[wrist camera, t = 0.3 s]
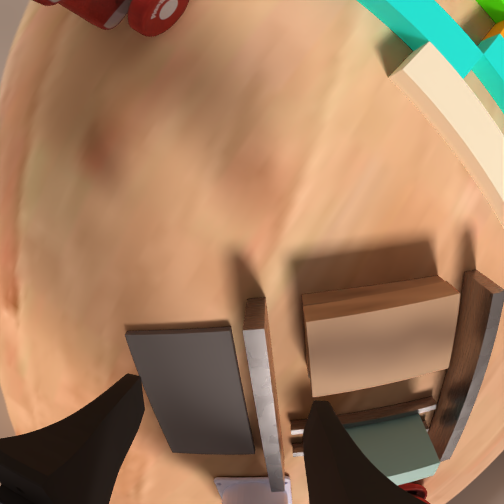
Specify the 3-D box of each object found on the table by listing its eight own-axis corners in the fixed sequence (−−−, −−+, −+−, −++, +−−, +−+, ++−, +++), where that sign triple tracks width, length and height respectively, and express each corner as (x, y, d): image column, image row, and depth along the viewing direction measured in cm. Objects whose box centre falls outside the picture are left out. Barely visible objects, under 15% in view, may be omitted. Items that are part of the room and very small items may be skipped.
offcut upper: (437, 352, 21) (448, 368, 19) (309, 378, 22) (312, 397, 20) (446, 281, 19) (460, 293, 17) (302, 305, 20) (306, 322, 18)
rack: (437, 431, 25) (449, 458, 21) (271, 459, 27) (271, 492, 23) (476, 269, 20) (505, 290, 16) (247, 298, 21) (242, 330, 18)
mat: (255, 449, 26) (254, 454, 26) (174, 448, 27) (172, 452, 26) (230, 326, 22) (230, 330, 22) (127, 330, 23) (124, 334, 22)
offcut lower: (426, 341, 23) (436, 355, 21) (306, 361, 23) (308, 378, 22) (434, 272, 21) (447, 283, 19) (301, 291, 22) (303, 304, 20)
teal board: (411, 420, 25) (433, 475, 18) (308, 438, 26) (314, 500, 19) (415, 406, 24) (440, 462, 18) (308, 425, 25) (314, 489, 18)
